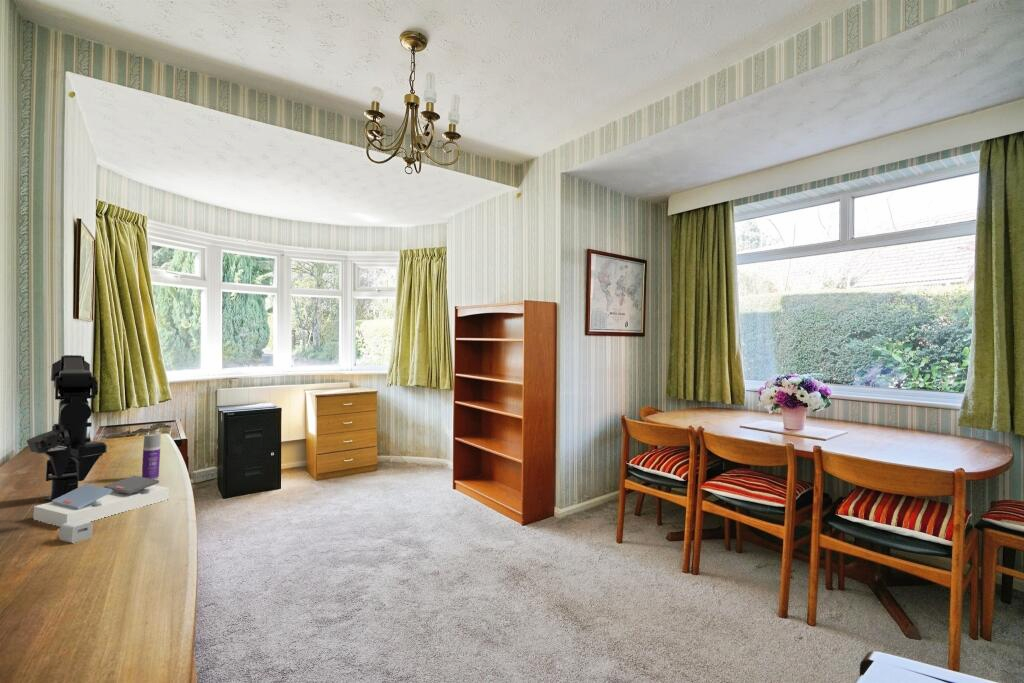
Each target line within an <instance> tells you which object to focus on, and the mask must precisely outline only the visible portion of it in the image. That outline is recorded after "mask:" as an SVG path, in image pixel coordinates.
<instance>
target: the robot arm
mask: <svg viewBox="0 0 1024 683" xmlns="http://www.w3.org/2000/svg"><path fill="white" fill-rule="evenodd" d="M50 381H51V382H53V389H54V400H59V401H60V402H59V404H58V418H57V419H58V423H54V424H53V425H52V427H51V428H52V429H51V430H49V431H47V432H44V433H41V434H38V435H36V436H33V437H31V438H29V439H27V440H26V444H27V445H28V448H29V450H30V452H31V453H37V454H43V455H45V456H47V457H48V458H49V459H47V460H46V467H45V469H46V470H45V482H49V481H51V489H50V492H51V493H50V496H46V497H44V500H45V501H49V502H52V500H54V499H56V498H58V497H60V496H62V495H64V494H66V493H69V492H71V491H73V490H75V489H77V488H79V482H83V481H84V480H85V479H86V478H87V476H88V474H89V473H90V471H91V470H92V468H93V466H94V465H95V464H96V462H97V461H98V460H99V459H100V457H102V456H104V454H106V453H107V451H108V450H107V448H108V446H107V444H106V443H105V442H102V441H96V440H95V441H93V440H92V438H91V437H88V428H91V427H92V425H93V424H92V422H88V420H89V419H90V418H91V416H92V409H91V406H90V405H89V404H90V403H89V400H88V399H96V396H98V394H99V386H98V380H97V378H96V376H93V373H92V371H91V364H90V363H89V362H88V361H86V360H85V355H82V354H76V355H72V354H67V355H66V354H64V355H61V357H60V359H59V360H57V361H55V362H54V363H52V364H51V375H50ZM91 440H92V441H91Z"/></svg>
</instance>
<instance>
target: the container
mask: <svg viewBox="0 0 1024 683" xmlns="http://www.w3.org/2000/svg"><path fill="white" fill-rule="evenodd" d="M143 437H144V438H143V448H142V464H141V465H142V466H141V467H142V468H141V477H144V478H149V479H154V480H157V479H156V478H158V477H160V463H161V462H160V459H161V458H160V457H161V434H160V433H150V434H145V435H144V436H143ZM158 479H159V478H158Z"/></svg>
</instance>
